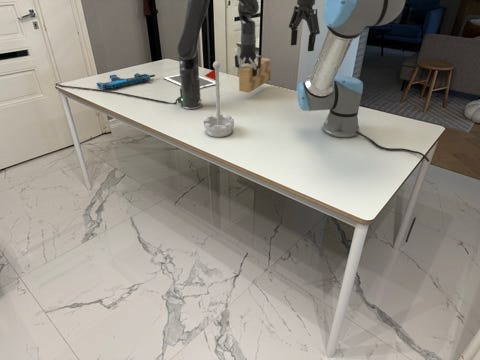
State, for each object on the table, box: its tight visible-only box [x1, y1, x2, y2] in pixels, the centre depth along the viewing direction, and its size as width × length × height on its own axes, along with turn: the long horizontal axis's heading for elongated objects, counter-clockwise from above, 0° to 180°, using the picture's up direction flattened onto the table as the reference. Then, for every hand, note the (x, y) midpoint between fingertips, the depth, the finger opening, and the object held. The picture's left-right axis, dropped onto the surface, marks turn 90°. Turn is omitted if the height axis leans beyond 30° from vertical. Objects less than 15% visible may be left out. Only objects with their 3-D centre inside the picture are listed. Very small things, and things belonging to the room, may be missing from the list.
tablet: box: [163, 73, 216, 89], centre depth 211 cm, size 32×20×1 cm, turn 41°
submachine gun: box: [95, 72, 156, 90], centre depth 209 cm, size 34×4×25 cm
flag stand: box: [203, 60, 235, 138], centre depth 141 cm, size 13×13×30 cm
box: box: [238, 57, 272, 94], centre depth 187 cm, size 26×6×12 cm, turn 149°
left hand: (248, 75), depth 180 cm, fingers closed on box, 7 cm apart
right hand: (301, 48), depth 153 cm, fingers open, 13 cm apart
